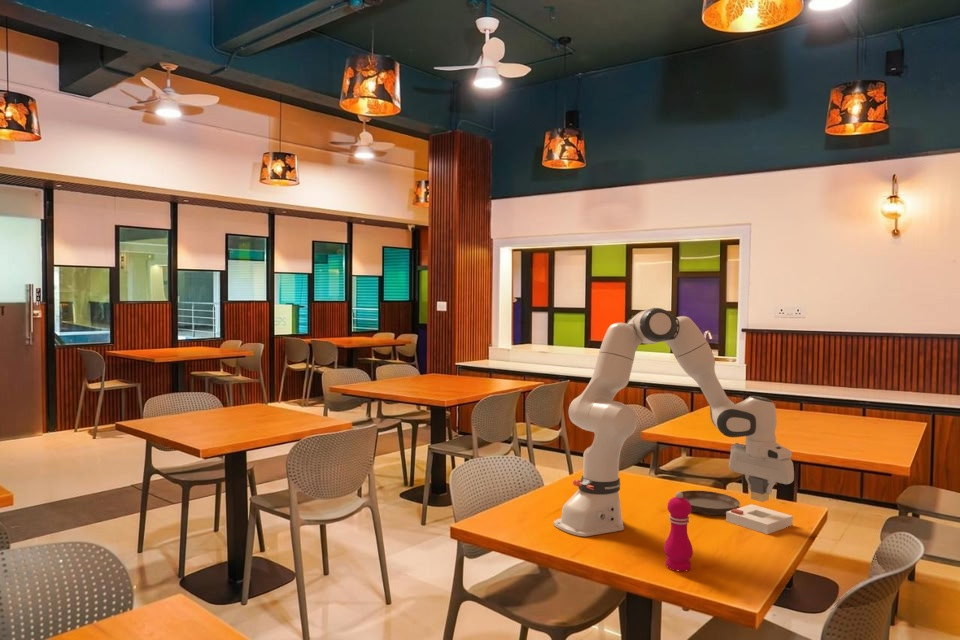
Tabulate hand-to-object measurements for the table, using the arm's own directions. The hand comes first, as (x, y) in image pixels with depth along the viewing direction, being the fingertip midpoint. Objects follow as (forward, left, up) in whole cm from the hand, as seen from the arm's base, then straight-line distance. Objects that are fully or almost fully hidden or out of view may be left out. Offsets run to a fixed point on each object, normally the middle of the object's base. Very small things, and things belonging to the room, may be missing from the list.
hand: (759, 491), depth 204 cm
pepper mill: (-49, -7, -10) cm, 51 cm away
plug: (0, 0, -3) cm, 3 cm away
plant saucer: (0, +19, -11) cm, 22 cm away
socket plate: (0, 0, -10) cm, 10 cm away
